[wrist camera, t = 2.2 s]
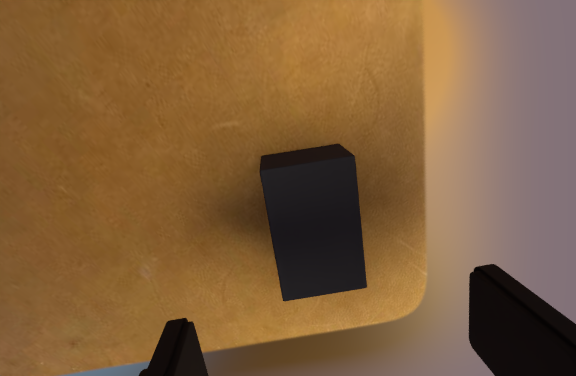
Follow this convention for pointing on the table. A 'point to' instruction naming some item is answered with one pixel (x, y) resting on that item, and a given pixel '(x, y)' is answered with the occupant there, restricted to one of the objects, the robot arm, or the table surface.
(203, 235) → the table surface
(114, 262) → the table surface
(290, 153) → the loose pad
